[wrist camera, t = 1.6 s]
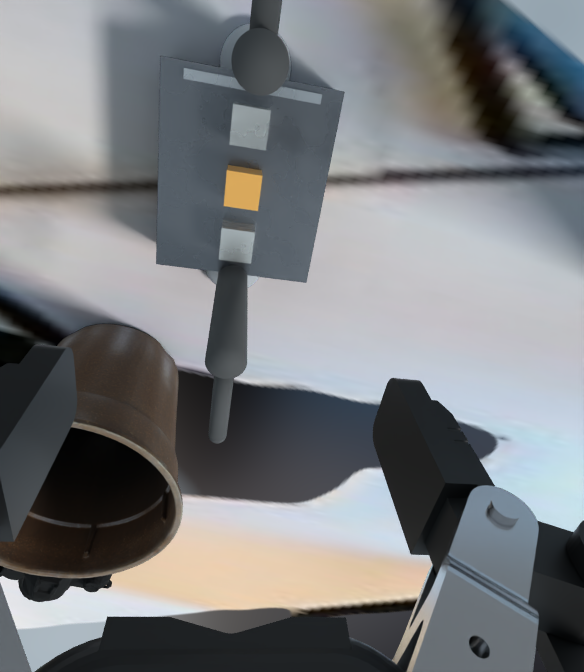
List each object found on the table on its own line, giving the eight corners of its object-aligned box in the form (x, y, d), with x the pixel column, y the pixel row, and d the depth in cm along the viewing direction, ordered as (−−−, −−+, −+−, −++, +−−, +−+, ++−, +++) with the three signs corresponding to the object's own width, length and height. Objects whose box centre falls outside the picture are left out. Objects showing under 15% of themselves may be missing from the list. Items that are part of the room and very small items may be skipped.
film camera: (-14, 537, 55) (-57, 612, 48) (6, 488, 51) (-36, 562, 44) (107, 566, 60) (86, 639, 53) (134, 524, 56) (116, 596, 49)
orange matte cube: (261, 170, 32) (262, 176, 30) (257, 203, 33) (258, 211, 32) (228, 164, 32) (226, 170, 30) (224, 198, 33) (223, 206, 31)
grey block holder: (334, 89, 33) (350, 93, 28) (301, 264, 40) (309, 292, 35) (170, 57, 32) (154, 55, 26) (164, 246, 38) (151, 273, 33)
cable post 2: (266, 237, 39) (275, 329, 25) (252, 333, 44) (253, 453, 30) (207, 229, 38) (184, 319, 24) (199, 327, 43) (176, 449, 29)
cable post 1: (307, -52, 29) (359, -160, 16) (284, 110, 34) (308, 137, 20) (230, -71, 28) (213, -202, 15) (217, 98, 33) (195, 118, 19)
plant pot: (205, 310, 42) (184, 428, 28) (199, 438, 50) (180, 579, 36) (18, 294, 40) (-105, 414, 26) (43, 431, 48) (-41, 579, 34)
